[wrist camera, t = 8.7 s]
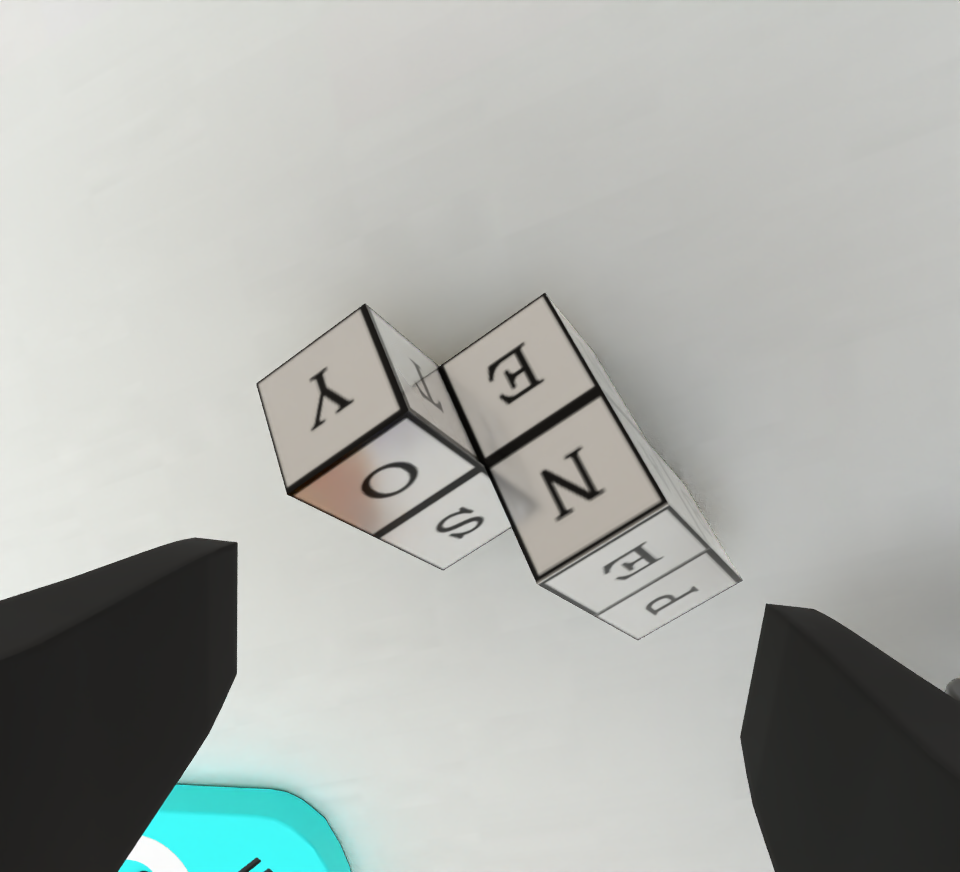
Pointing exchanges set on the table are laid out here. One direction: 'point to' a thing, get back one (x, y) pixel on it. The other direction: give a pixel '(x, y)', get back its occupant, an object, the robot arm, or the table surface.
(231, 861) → the handheld game console
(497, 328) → the building blocks
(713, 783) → the table surface
